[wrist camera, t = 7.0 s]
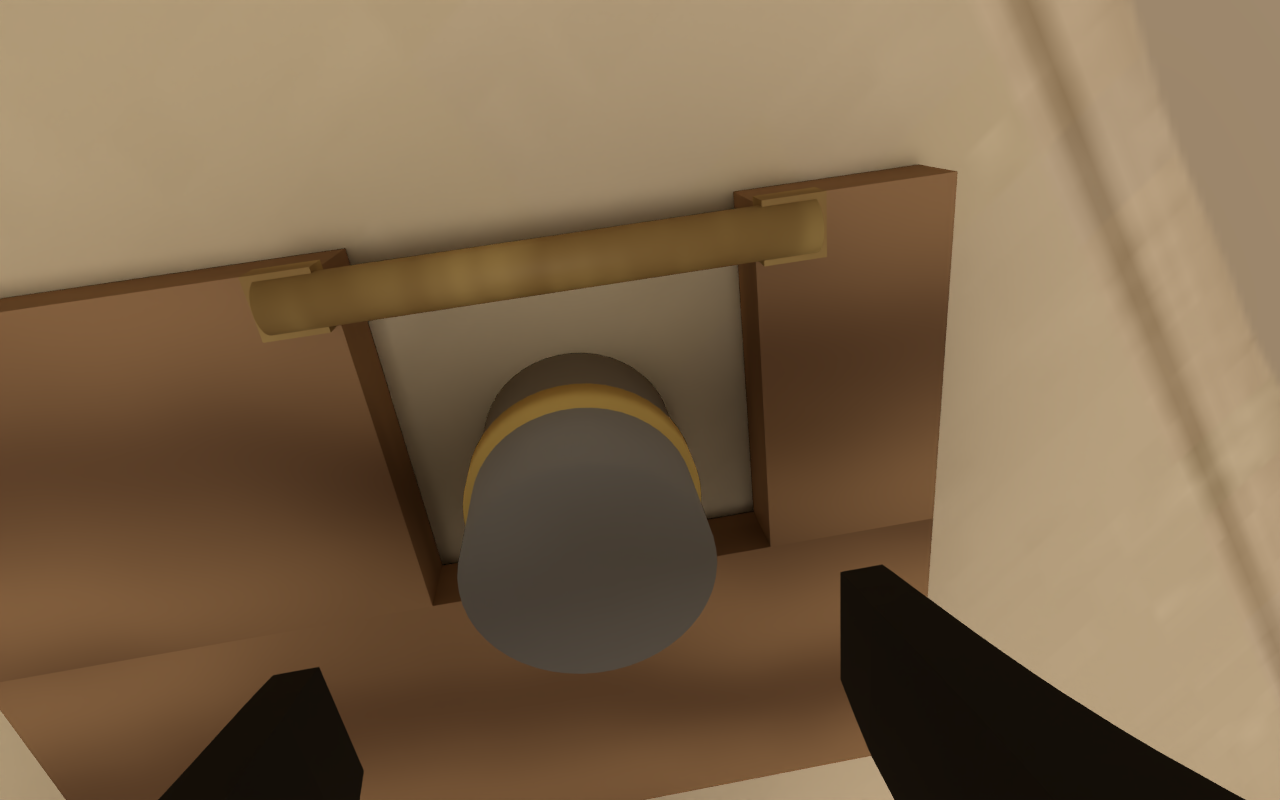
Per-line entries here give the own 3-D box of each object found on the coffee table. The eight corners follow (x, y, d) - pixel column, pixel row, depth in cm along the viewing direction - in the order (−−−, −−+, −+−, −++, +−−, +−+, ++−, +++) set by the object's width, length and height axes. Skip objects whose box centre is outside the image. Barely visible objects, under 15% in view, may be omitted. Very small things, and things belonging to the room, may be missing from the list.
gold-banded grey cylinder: (674, 338, 15) (727, 442, 11) (678, 513, 17) (724, 663, 13) (463, 355, 15) (425, 470, 10) (491, 532, 17) (470, 694, 12)
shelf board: (893, 704, 21) (934, 778, 19) (166, 842, 20) (116, 940, 17) (918, 159, 14) (988, 171, 12) (-181, 319, 13) (-336, 366, 11)
